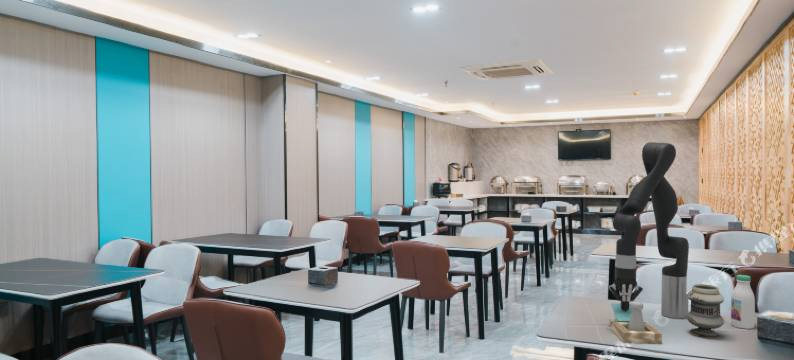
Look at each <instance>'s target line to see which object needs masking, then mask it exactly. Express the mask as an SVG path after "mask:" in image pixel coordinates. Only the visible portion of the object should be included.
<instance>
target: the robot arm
mask: <svg viewBox="0 0 794 360" xmlns="http://www.w3.org/2000/svg"><path fill="white" fill-rule="evenodd" d="M676 156H677V150H676V147H675V146H674V144H672V143H668V142H655V141H654V142H653V141H652V142H651V141H650V142H647V143H645V144H644V145H643V147H642V151H641V159H642V163H643V166H644V170H645V174H646V176H645V177H643V178H642V179H640V181H638V182H637V183H636V184H635V185H634V186H633V188H632V190H631V191H630V193H629V195H628V198H627V200H626V201H625V203H624V204H623V205H622V206H621V207H620V209H618V210H617V212H616V214H615V215H614V217H613V219H612V228H613V229H614V230H615V231H616V232H619V233H624V235H623V237H622V238H619V239H617V241H616V243H615V244H616V245H615V247H616V248H615V262H614V266H615V269H614V281H613V284H611V285H608V286H607V288H608V290H610V292H611V293H612V294H613V296H614V297H615V298H616V299H617V300H618V301H620V303H621V309H622V310H623V311H628V310H629V304H630V303H631V302H632V301H636V299H637V297H638V296H639V295H640V294H641V293H642V291H643V290H644V288H643V287H641V286H639V285H638V282H637V243H638V240H639V237H640V233H641V229H642V223H641V221H640V219H639V217H638V216H636V215H637V214H641V213H643V212H644V211H645V209H646V207H647V204H648V203H649V200H650V199H651V203H652V209H653V214H654V221H655V228H656V239H657V241H656V242H657V249H658V253H659V256H661V258H666V259H672V260H675V263H674V264H669V265H665V266H663V267H662V268H661V308H660V314H661V316H664V317H666V318H670V319H687V314H688V313H689V298H688V296H687V294H688V293H687V285H688V284H687V281H688V279H687V278H688V277H687V276H688V267H689V264H688V263H689V255H690V254H689V252H690V246H689V245H690V244H689V241H688V238H686V237H681V236H671V235H669V231H668V230H669V226H670V224H671V222H672V221H673V219H674V218H675V217H676V214H677V213H678V211H679V204H678V198H677V193H676V191H675V189H674V188H673V186H672V185H671V183H670V182H669V181H668V180H667V179H666V177H665V175H666V174H667V172H668V171H669V170H670V168H671V167H672V165H673V164H674V161H675V160H676ZM616 290H618V291H619V293H618V292H617V291H616Z"/></svg>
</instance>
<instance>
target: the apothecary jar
mask: <svg viewBox="0 0 794 360" xmlns="http://www.w3.org/2000/svg"><path fill="white" fill-rule="evenodd" d="M719 288H720V287H718V286H715V285H711V284H705V283H703V284H700V283H699V284H698V283H697V284H693V285H692V288H691V290H689V291H688V293H686V294H687V296H688V298H689V299H688V301H690V309H689V310H690V311H688V314H687V318H686V320H687V322H689V323H690V324H691V325H693V326H695V328H691V329H689V333H690V334H691V335H693V336H694V337H695V336H696V337H699V338H705V339H719V338H720V337H721V335H720V333H718V332H716V331H715V329H718V328H721V327H722V326H724V325H725V320H724V317H723V316H722V315H721V304H723V303H724V301H725V297H724V296H723V294H722V293H720V289H719Z"/></svg>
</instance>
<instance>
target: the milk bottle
mask: <svg viewBox="0 0 794 360" xmlns="http://www.w3.org/2000/svg"><path fill="white" fill-rule="evenodd" d="M735 278H736V286H735V287H734V289H733V291H732V293H731V301H730V303H731V304H730V305H731V306H730V324H731V326H733V327H735V328H739V329H747V330H749V329H750V330H751V329H754V328H755V321H756V319H755V317H756V313H755V312H756V300H755V299H756V298H755V294H754V291H753V289H752V288H751V284H750V283H751V279H752V278H751V276H750V275H745V274H738V275H736V277H735Z"/></svg>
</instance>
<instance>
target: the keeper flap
mask: <svg viewBox="0 0 794 360" xmlns="http://www.w3.org/2000/svg"><path fill="white" fill-rule="evenodd" d="M630 304H631V303H629V310H628V311H623V310H622V309H621V302H619V303H617V302H616V303H615V302H611V304H610V306H611V308H612V311H613V314H614V317H615V319H616V320H617V322H630V317H631V313H632V308H631V307H630Z"/></svg>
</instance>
